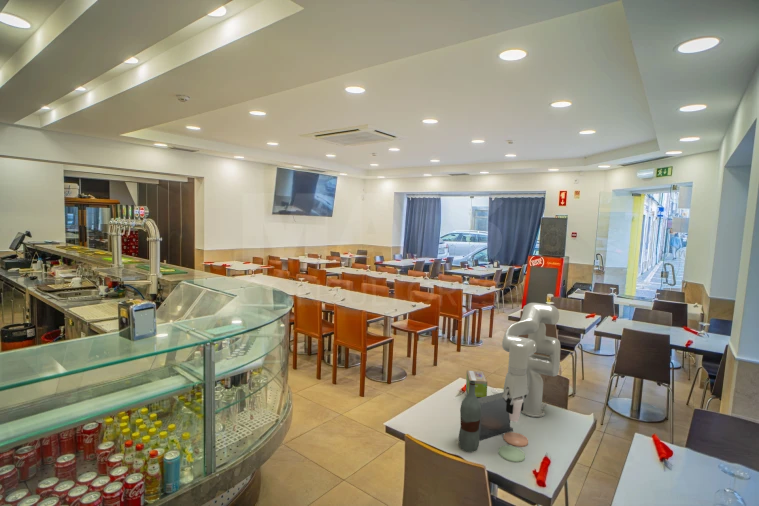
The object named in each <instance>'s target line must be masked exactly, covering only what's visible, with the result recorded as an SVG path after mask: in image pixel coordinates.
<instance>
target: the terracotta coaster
mask: <svg viewBox="0 0 759 506" xmlns="http://www.w3.org/2000/svg"><path fill="white" fill-rule="evenodd" d="M502 438H503V441H504V442H505V443H506V444H508V445H509V446H514V447H517V448H524V447H527V446H528V444H529V439H528V437H526V436H525V435H524V434H523V433H518V432H515V431H510V432H507V433H504V434H503V437H502Z"/></svg>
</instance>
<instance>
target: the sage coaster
mask: <svg viewBox="0 0 759 506" xmlns="http://www.w3.org/2000/svg"><path fill="white" fill-rule="evenodd" d="M498 455H499V457H501V458H502V459H504V461H505V460H506V461H508V462H512V463H522V462H524V461H525V459H526V454H525V452H524V451H523V450H522V449H521V448H520V447H516V446H512V445H502V446H500V447H499V448H498Z"/></svg>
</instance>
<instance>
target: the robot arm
mask: <svg viewBox="0 0 759 506" xmlns="http://www.w3.org/2000/svg"><path fill="white" fill-rule="evenodd" d="M559 321H560V311H559V309H558V308H557V307H556V306H555V305H553V304H548V303H541V302H540V303H539V302H529V303H526V305H524V306H523V309H522V315H521V318H520V320H519V321H516V322H514V323H512V324H511V325H509V326H508V327H507V328H506V330H505V333H504V335H503V338H502V341H501V346H502V350H504V351H505V352H508V355H509V356H508V365H507V367H508V369H507V372H506V374H505V378H504V384H503V391H502V392H503V393H504V394H503V396H502V398H503V399H504V400H505V402H506V403H507V404H506V411H507V412H508V413H510V414H513V405H512V403H513V400H514V398H517V397H521V398H523V403H522V407H521V411H520V414H522V415H525V416H527V417H530V418H531V417H532V418H542V417H543V416H544V415H545V410H544V409H543V408H544V407H547V406H548V405H547V403H546V402H543V394H544V379H543V377H542V375H544V376H549V377H557V376H558V375H559V372H560V363H561V342H560V340H559V339H558V338H556V337H552V336H548V335H546V333H547V327H546V324H547V325H557V324H558V322H559ZM526 335H528V336H527V337H523V336H526ZM509 398H511V400H509Z"/></svg>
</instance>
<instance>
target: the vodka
mask: <svg viewBox="0 0 759 506" xmlns="http://www.w3.org/2000/svg"><path fill="white" fill-rule="evenodd" d="M459 413H460V417H459V418H460V428H459V431H458V432H459V433H458V444H459V448H460V449H461V450H462V451H464V452H468V453H474V452H477V451H478V449H479V446H480V442H481V441H480V439H479V424H480V417H481V405H480V402H479V401H478V399H477V397H476V395H475V381H469V393H468V394H467V396H466V395H465V397H464V398H463V400H462V401H461V403H460V408H459Z"/></svg>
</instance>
